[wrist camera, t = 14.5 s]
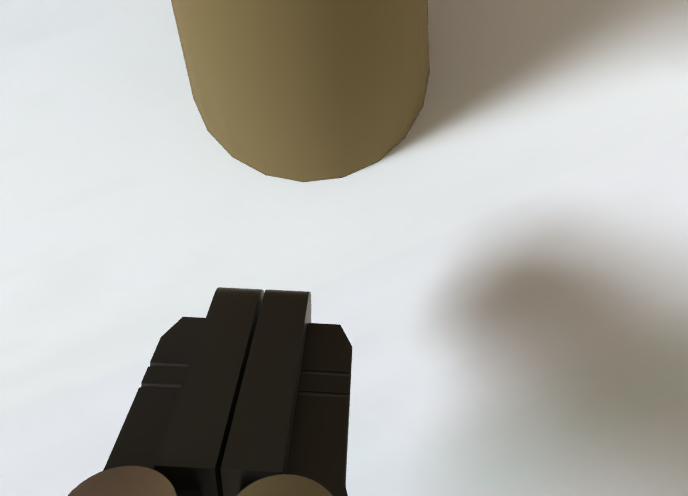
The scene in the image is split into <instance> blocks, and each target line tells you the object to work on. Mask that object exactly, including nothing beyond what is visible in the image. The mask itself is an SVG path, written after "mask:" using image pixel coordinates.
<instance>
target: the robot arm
mask: <svg viewBox="0 0 688 496" xmlns="http://www.w3.org/2000/svg"><path fill="white" fill-rule="evenodd" d="M351 363H352V346H351V344H350V342H349V340H348V338H347V336H346V334H345V333H344V331H343V329H342V327H341V325H336V324H317V323H311V293H310V292H303V291H283V290H265V293H264V291H263V290H259V289H239V288H217V290H216V292H215V294H214V297H213V300H212V302H211V305H210V308H209V311H208V314H207V316H206V318H195V317H182V318H181V319H180V320H179V321H178V322H177V323H176V324H175V325H174V326H173V327H171V328H170V329H169V330H168V331H167V332H166V333H165V334H164V335H163V336H162V337H161V338H160V341H159V343H158V345H157V348H156V350H155V352H154V355H153V357H152V359H151V361H150V367H148V368H147V371H146V373H145V375H144V378H143V380H142V385H141V388H139V389H138V392H137V394H136V396H135V399H134V401H133V403H132V406H131V408H130V410H129V413H128V415H127V417H126V420H125V422H124V424H123V426H122V429H121V431H120V433H119V436H118V438H117V440H116V443H115V445H114V447H113V450H112V452H111V454H110V457H109V459H108V461H107V464H106V466H105V468H104V470H103V471H102V472H99V473H97V474H95V475H93V476H91V477H90V478H88V479H87V480H85V481H83V482H82V483H81V484H79V485H78V486H77V487H76V488H75V489H74V490H72V492H71V493H70V494H69V495H68V496H348V495H347V491H346V465H347V446H348V426H349V406H350V384H351Z"/></svg>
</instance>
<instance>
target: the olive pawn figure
mask: <svg viewBox="0 0 688 496" xmlns="http://www.w3.org/2000/svg"><path fill="white" fill-rule="evenodd" d="M171 2H172V7H173V11H174V15H175V20H176V24H177V28H178V33H179V37H180V41H181V46H182V50H183V55H184V59H185V63H186V68H187V72H188V76H189V81H190V85H191V89H192V94H193V98H194V101H195V103H196V105H197V107H198V110H199V112H200V114H201V117H202V119H203V121H204V123H205V126H206V128H207V130H208V131H209V133H210V134H211V135H212V136H213V137H214V138H215V139H216V140H217V141H218V142H219V143H220V144H221V145H222V146H223V147H224V149H225V150H226V151H227V152H228V153H229V154H230V155H231V156H232V157H233V158H235V159H237V160H239V161H241V162H243V163H244V164H246V165H248V166H250V167H252V168H254V169H256V170H257V171H259V172H261V173H263V174H265V175H269V176H274V177H279V178H285V179H290V180H295V181H301V182H308V181H316V180H325V179H334V178H342V177H344V176H347V175H349V174H351V173H353V172H356V171H358V170H360V169H362V168H365V167H367V166H369V165H372V164H374V163H376V162H378V161H379V160H380V159H381V158H382V157H383V156H384V155H386V154H387V153H388V152H389V151H390V150H391V149H392V148H394V147H395V146H396V145H397V144H398V143H399V142H400V141H401V140H403V139H404V138H405V136H406V135H407V133H408V131H409V129H410V128H411V126H412V124H413V123H414V121H415V119H416V117H417V116H418V114H419V112H420V110H421V109H422V107H423V103H424V98H425V92H426V87H427V82H428V76H429V44H428V8H427V0H171Z"/></svg>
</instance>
